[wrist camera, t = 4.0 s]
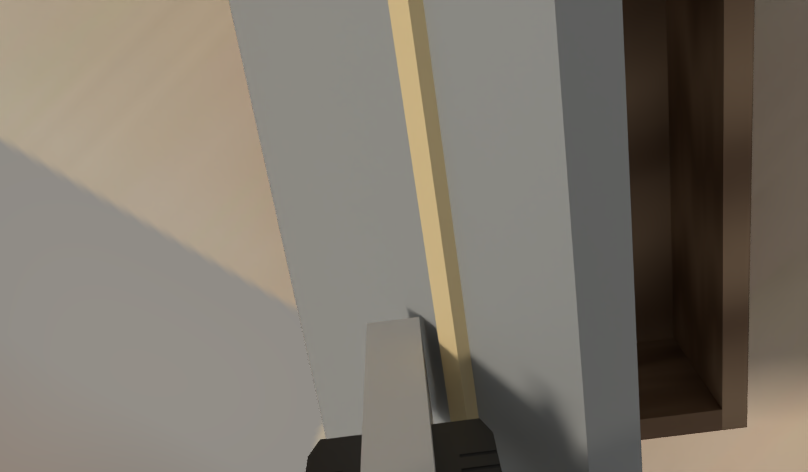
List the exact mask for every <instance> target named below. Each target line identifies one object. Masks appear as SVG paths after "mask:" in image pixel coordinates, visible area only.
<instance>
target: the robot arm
mask: <svg viewBox="0 0 808 472" xmlns="http://www.w3.org/2000/svg"><path fill="white" fill-rule="evenodd" d="M306 472H502V469H501V466H500V461H499V456H498V453H497V447H496V443H495V439H494V434H493V432H492V431H491V430H490V429H489V428H488V427H487V426H486V424H485V423H484V422H483V421H482V420H481V419H480V418H477V419H469V420H461V421H453V422H445V423H437V424H433V415H432V408H431V400H430V393H429V386H428V378H427V371H426V364H425V357H424V349H423V342H422V335H421V327H420V320H419V317H414V318H407V319H399V320H390V321H382V322H374V323H367V330H366V353H365V376H364V400H363V423H362V434H361V435H353V436H345V437H337V438H329V439H321V440H320V441H319V442H318V443H317V445H316V446H315V448H314V449H313V450H312V452H311V453H310V455H309V456H308V460H307V467H306Z"/></svg>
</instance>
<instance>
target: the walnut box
mask: <svg viewBox="0 0 808 472" xmlns="http://www.w3.org/2000/svg"><path fill="white" fill-rule="evenodd" d="M754 4H755V0H622V10H623V34H624V57H625V81H626V104H627V128H628V151H629V175H630V198H631V222H632V245H633V269H634V292H635V316H636V339H637V363H638V386H639V410H640V433H641V440H644V439H653V438H661V437H669V436H677V435H686V434H694V433H702V432H710V431H719V430H727V429H735V428H743V427H747V393H748V337H749V282H750V226H751V170H752V115H753V59H754Z"/></svg>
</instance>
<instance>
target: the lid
mask: <svg viewBox="0 0 808 472" xmlns="http://www.w3.org/2000/svg"><path fill="white" fill-rule="evenodd" d="M229 4H230V8H231V13H232V17H233V22H234V26H235V31H236V35H237V40H238V44H239V49H240V53H241V58H242V62H243V67H244V71H245V76H246V80H247V85H248V89H249V94H250V98H251V103H252V107H253V112H254V116H255V121H256V125H257V130H258V134H259V139H260V143H261V148H262V152H263V157H264V161H265V166H266V170H267V175H268V179H269V184H270V188H271V193H272V197H273V202H274V206H275V211H276V215H277V220H278V224H279V229H280V233H281V238H282V242H283V247H284V251H285V256H286V260H287V265H288V269H289V274H290V278H291V283H292V287H293V292H294V296H295V301H296V305H297V310H298V314H299V319H300V322H301V328H302V332H303V337H304V341H305V345H306V350H307V355H308V359H309V364H310V368H311V372H312V377H313V382H314V386H315V391H316V395H317V400H318V404H319V408H320V413H321V418H322V422H323V427H324V431H325V436H326V439H329V438H337V437H345V436H353V435H361V434H362V423H363V400H364V376H365V353H366V330H367V323H374V322H382V321H390V320H399V319H407V318H414V317H419V320H420V327H421V335H422V342H423V349H424V357H425V364H426V371H427V378H428V386H429V393H430V400H431V408H432V415H433V424H437V423H445V422H453V421H461V420H469V419H477V418H480V419H481V420H482V421H483V422H484V423H485V424H486V426H487V427H488V428H489V429H490V430H491V431H492V432H493V434H494V439H495V443H496V447H497V453H498V456H499V461H500V466H501V469H502V472H642V457H641V433H640V410H639V386H638V363H637V339H636V316H635V292H634V269H633V245H632V222H631V198H630V175H629V151H628V128H627V104H626V81H625V57H624V34H623V10H622V0H229Z"/></svg>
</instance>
